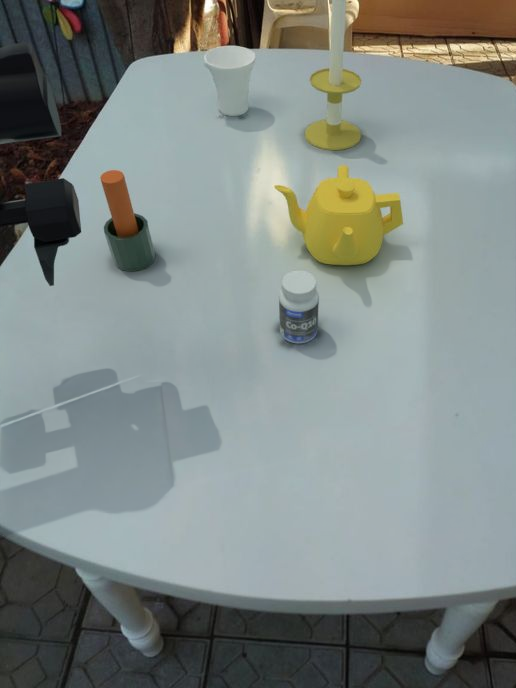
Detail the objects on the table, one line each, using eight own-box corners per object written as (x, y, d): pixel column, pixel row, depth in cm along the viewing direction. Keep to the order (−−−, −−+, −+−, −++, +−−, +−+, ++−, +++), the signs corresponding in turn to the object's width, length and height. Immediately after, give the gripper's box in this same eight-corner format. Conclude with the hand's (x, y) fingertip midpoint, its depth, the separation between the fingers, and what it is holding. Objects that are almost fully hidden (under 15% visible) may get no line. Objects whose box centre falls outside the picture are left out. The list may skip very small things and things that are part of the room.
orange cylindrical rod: (137, 263, 80) (116, 184, 70) (119, 259, 80) (95, 180, 71) (148, 251, 82) (128, 172, 72) (130, 246, 82) (108, 167, 73)
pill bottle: (284, 348, 72) (283, 299, 65) (276, 320, 74) (274, 271, 68) (322, 340, 72) (324, 292, 66) (312, 314, 75) (313, 264, 69)
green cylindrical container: (115, 274, 79) (105, 242, 75) (112, 248, 82) (102, 216, 78) (157, 267, 80) (150, 235, 76) (152, 241, 84) (144, 209, 79)
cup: (201, 104, 109) (194, 49, 102) (247, 94, 112) (243, 40, 105) (219, 127, 104) (212, 70, 97) (266, 116, 107) (264, 60, 100)
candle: (362, 151, 101) (378, -28, 80) (304, 149, 100) (305, -30, 80) (360, 121, 107) (374, -51, 87) (305, 119, 107) (306, -53, 86)
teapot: (275, 242, 84) (272, 183, 77) (340, 204, 91) (343, 145, 83) (344, 291, 78) (348, 232, 71) (408, 246, 85) (419, 188, 77)
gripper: (48, 88, 53) (94, 226, 65) (-186, 115, 49) (-91, 257, 61) (52, 153, 46) (102, 294, 58) (-220, 190, 42) (-106, 334, 54)
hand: (3, 291), depth 58 cm, fingers open, 9 cm apart
